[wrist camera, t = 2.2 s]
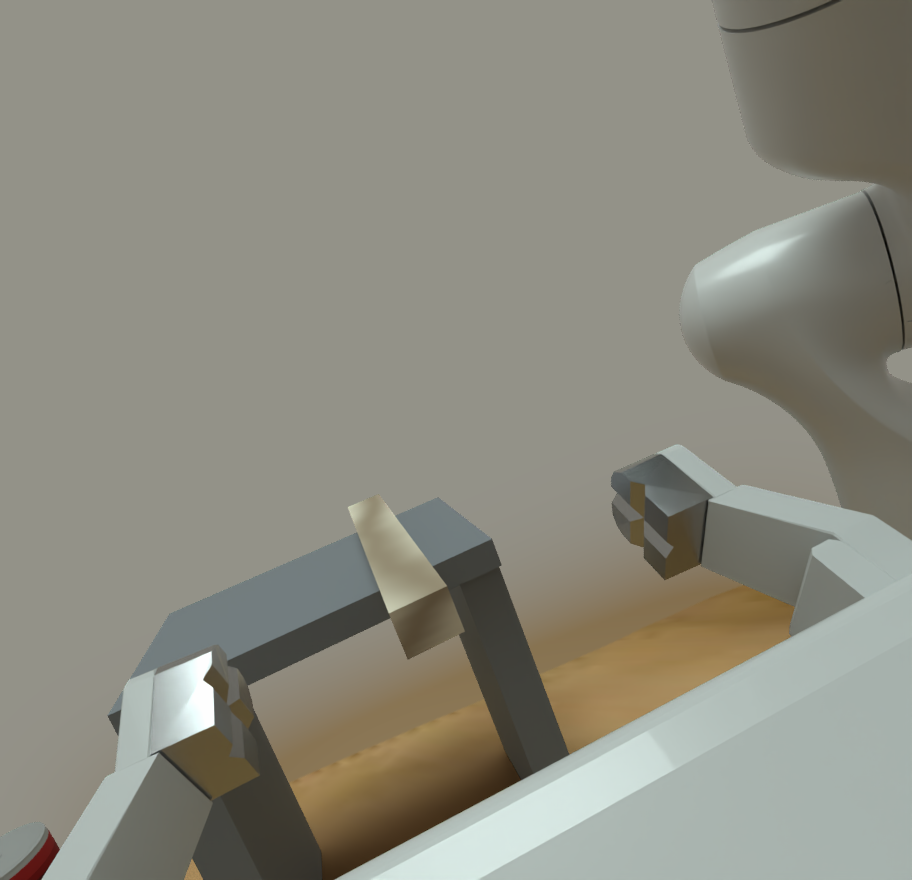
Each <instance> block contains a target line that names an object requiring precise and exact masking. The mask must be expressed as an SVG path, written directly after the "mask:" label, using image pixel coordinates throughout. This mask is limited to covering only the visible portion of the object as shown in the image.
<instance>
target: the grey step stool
mask: <svg viewBox="0 0 912 880" xmlns="http://www.w3.org/2000/svg"><path fill="white" fill-rule="evenodd" d="M395 517H396V518H397V519H398V521H399V522H400V523H401V525H402V526H403V527H404V529H405V530H406V532H407V533H408V534H409V536H410V537H411V538H412V540H413V541H414V542H415V544H416V545H417V546H418V548H419V549H420V550H421V552H422V553H423V554H424V556H425V557H426V558H427V560H428V561H429V562H430V564H431V565H432V566H433V568H434V569H435V570H436V572H437V573H438V574H439V576H440V577H441V579H442V580H443V581H444V583H445V584H446V585H447V587H448V590H449V592H450V595H451V597H452V600H453V602H454V605H455V607H456V610H457V613H458V615H459V618H460V620H461V623H462V625H463V628H464V630H465V632H463V633H461V634H459V636H460V638H461V641H462V644H463V646H464V649H465V651H466V654H467V656H468V659H469V661H470V664H471V666H472V669H473V671H474V674H475V676H476V679H477V681H478V684H479V686H480V689H481V692H482V694H483V697H484V699H485V702H486V704H487V707H488V709H489V712H490V714H491V717H492V719H493V722H494V724H495V727H496V729H497V732H498V735H499V737H500V740H501V742H502V745H503V747H504V750H505V752H506V753H507V755H508V757H509V759H510V761H511V762H512V764H513V766H514V768H515V769H516V771H517V773H518V775H519V777H520V778H521V780H523V779H525V778H527V777H528V776H530V775H532V774H534V773H536V772H538V771H540V770H542V769H544V768H545V767H547V766H549V765H551V764H553V763H555V762H557V761H559V760H560V759H562V758H564V757H566V756H568V755H569V753H568V750H567V747H566V745H565V742H564V739H563V737H562V734H561V731H560V729H559V726H558V723H557V721H556V718H555V715H554V713H553V710H552V707H551V705H550V702H549V699H548V697H547V694H546V691H545V689H544V686H543V683H542V680H541V678H540V675H539V673H538V670H537V667H536V664H535V662H534V659H533V656H532V654H531V651H530V648H529V646H528V643H527V640H526V638H525V635H524V632H523V630H522V627H521V624H520V622H519V619H518V617H517V614H516V611H515V608H514V606H513V603H512V600H511V598H510V595H509V592H508V590H507V587H506V584H505V582H504V579H503V576H502V574H501V571H500V568H499V566H501V562H500V560H499V557H498V554H497V551H496V549H495V546H494V544H493V541H492V539H491V538H490V537H489V536H487V535H486V534H485V533H484V532H482V531H481V530H479V529H478V528H477V527H476V526H474V525H473V524H472V523H470V522H469V521H468V520H467V519H465V518H464V517H463V516H462V515H460V514H459V513H458V512H456V511H455V510H454V509H453V508H451V507H450V506H448V505H447V504H446V503H445V502H443V501H442V500H441V499H440V498H435V499H433V500H431V501H428V502H426V503H424V504H422V505H419V506H417V507H415V508H412V509H410V510H408V511H405V512H403V513H401V514H399V515H396V516H395ZM389 618H390V615H389V613H388V610H387V608H386V605H385V603H384V600H383V597H382V595H381V592H380V590H379V587H378V584H377V582H376V579H375V577H374V574H373V571H372V569H371V566H370V564H369V561H368V559H367V556H366V553H365V551H364V548H363V546H362V543H361V540H360V538H359V535H358V533H355V534H353V535H350V536H348V537H345V538H343V539H341V540H339V541H336V542H334V543H332V544H330V545H327V546H325V547H323V548H320V549H318V550H316V551H313V552H311V553H309V554H306V555H304V556H302V557H299V558H297V559H295V560H292V561H291V562H288V563H286V564H283V565H281V566H279V567H276V568H274V569H272V570H270V571H267V572H265V573H263V574H260V575H258V576H256V577H253V578H251V579H249V580H246V581H244V582H242V583H239V584H237V585H235V586H233V587H230V588H228V589H226V590H223V591H221V592H219V593H216V594H214V595H212V596H210V597H207V598H205V599H203V600H200V601H198V602H196V603H194V604H191V605H189V606H186V607H184V608H182V609H180V610H177V611H175V612H173V613H171V614H169V616H168V618H167V619H166V621H165V622H164V624H163V625H162V627H161V629H160V630H159V632H158V634H157V635H156V637H155V639H154V640H153V642H152V644H151V645H150V647H149V649H148V650H147V652H146V653H145V655H144V657H143V658H142V660H141V662H140V663H139V665H138V667H137V668H136V670H135V672H134V673H133V675H132V676H131V678H130V679H132V678H135V677H137V676H139V675H142V674H144V673H147V672H149V671H152V670H154V669H157V668H158V667H160V666H163V665H165V664H168V663H170V662H173V661H175V660H178V659H180V658H183V657H185V656H188V655H190V654H193V653H195V652H198V651H200V650H202V649H205V648H207V647H210V646H212V645H217V644H218V645H219V646H220V647H221V648H222V650H223V651H224V652H225V653H226V654H227V666H230V667H234V668H237V669H238V670H239V672H240V673H241V674H242V676H243V678H244V680H245V682H246V684H247V686H248V685H250V684H252V683H254V682H256V681H258V680H260V679H263V678H265V677H267V676H269V675H271V674H273V673H275V672H277V671H280V670H282V669H284V668H286V667H288V666H290V665H292V664H294V663H296V662H298V661H301V660H303V659H305V658H307V657H309V656H311V655H313V654H315V653H318V652H320V651H321V650H324V649H326V648H328V647H330V646H332V645H334V644H337V643H338V642H341V641H343V640H345V639H347V638H349V637H351V636H353V635H356V634H357V633H360V632H362V631H364V630H366V629H368V628H370V627H372V626H375V625H377V624H379V623H381V622H383V621H385V620H387V619H389ZM122 697H123V691H122V693H121V694H120V696H119V698H118V699H117V701H116V703H115V704H114V706H113V708H112V709H111V711H110V713H109V714H108V718H109V720H110V721H111V723H112V725H113V727H114V729H115V731H116V733H117V735H118V736H119V726H120V717H121V707H122ZM253 712H254V718H253V720H252V722H251V724H250V726H249V728H248V730H249V731H250V732H251V734H252V735H253V736H254V737H255V739H256V740H257V750H258V760H259V770H260V776H258V777H256V778H254V779H252V780H250V781H248V782H246V783H244V784H242V785H240V786H239V787H237V788H235V789H233V790H231V791H229V792H227V793H225V794H223V795H221V796H219V797H217V798H215V799H213V800H211V801H212V802H213V804H212V807H211V810H210V812H209V815H208V817H207V820H206V823H205V825H204V828H203V831H202V833H201V836H200V838H199V841H198V844H197V846H196V849H195V851H194V854H193V857H192V859H193V861H194V862H195V864H196V866H197V868H198V870H199V872H200V874H201V876H202V878H203V880H322V859H321V850H320V848H319V846H318V844H317V842H316V839H315V837H314V835H313V833H312V831H311V829H310V827H309V825H308V823H307V821H306V818H305V816H304V814H303V812H302V810H301V808H300V806H299V804H298V802H297V799H296V797H295V795H294V793H293V791H292V789H291V787H290V785H289V783H288V781H287V778H286V776H285V774H284V772H283V770H282V768H281V766H280V764H279V762H278V760H277V758H276V755H275V753H274V751H273V749H272V747H271V745H270V743H269V741H268V739H267V736H266V734H265V732H264V730H263V728H262V726H261V724H260V722H259V720H258V718H257V715H256V713H255V711H254V709H253Z"/></svg>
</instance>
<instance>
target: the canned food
mask: <svg viewBox="0 0 912 880" xmlns="http://www.w3.org/2000/svg"><path fill="white" fill-rule="evenodd" d="M59 851H60V849H59V847H58V846H57V843H56V842H55V840H54V838H53V837H52V835H51V834H50V832H49V830H48V829H47V828H46V827H45V825H44V824H43V823H41V822H34V823H29V824H26V825H23V826H21V827H18V828H16V829H14V830H12V831H10V832H8V833H6V834H5V835H3V836H1V837H0V880H41V879H42V878H43V876H44V875H45V873H46V871H47V870H48V868H49V867H50V865H51V863H52V862H53V860H54V859H55V857H56V855H57V854H58V852H59Z"/></svg>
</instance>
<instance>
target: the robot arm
mask: <svg viewBox="0 0 912 880" xmlns="http://www.w3.org/2000/svg"><path fill="white" fill-rule="evenodd" d="M712 3H713V7H714V11H715V16H716V20H717V24H718V28H719V32H720V35H721V40H722V44H723V48H724V51H725V55H726V59H727V63H728V67H729V71H730V74H731V79H732V82H733V87H734V90H735V94H736V98H737V102H738V106H739V110H740V113H741V117H742V122H743V125H744V129H745V133H746V137H747V140H748V142H749V144H750V145H751V147H752V149H753V150H754V151H755V152H756V154H757V155H758V156H759V157H760V158H762V159H763V160H764V161H765V162H766V163H768V164H770V165H771V166H773V167H775V168H777V169H780V170H782V171H784V172H786V173H789V174H792V175H795V176H798V177H802V178H807V179H813V180H830V181H862V182H869V183H874V184H873V185H871V186H869V187H867V188H865V189H863V190H861V192H858V193H856V194H853V195H850V196H847V197H845V198H842V199H839V200H837V201H834V202H831V203H828V204H826V205H823V206H820V207H818V208H815V209H812V210H809V211H807V212H804V213H801V214H799V215H796V216H793V217H790V218H788V219H785V220H783V221H780V222H777V223H774V224H771V225H769V226H766V227H763V228H761V229H758V230H755V231H753V232H751V233H749V234H748V235H746V236H744V237H742V238H740V239H739V240H737V241H735V242H733V243H731V244H730V245H728V246H726V247H724V248H722V249H721V250H719V251H717V252H716V253H714V254H712V255H711V256H709V257H708V258H706V259H704V260H703V261H701V262H699V263H697V264H696V265H695V266H694V268H693V269H692V271H691V273H690V274H689V276H688V279H687V280H686V283H685V285H684V288H683V291H682V296H681V300H680V309H679V316H680V317H679V318H680V326H681V331H682V334H683V337H684V340H685V343H686V345H687V346H688V348H689V350H690V352H691V353H692V355H693V356H694V357H695V358H696V360H697V361H698V362H699V363H700V364H701V365H702V366H703V367H704V368H705V369H707V370H708V371H709V372H711V373H712V374H714V375H715V376H717V377H719V378H721V379H723V380H725V381H728V382H731V383H734V384H737V385H740V386H743V387H745V388H748V389H750V390H752V391H754V392H757V393H758V394H760V395H762V396H764V397H766V398H768V399H769V400H771V401H772V402H774V403H775V404H777V405H779V406H780V407H781V408H783V409H784V410H785V411H786V412H788V413H789V414H790V415H791V416H792V417H793V418H795V419H796V420H797V421H798V422H799V423H800V424H801V425H802V426H803V428H804V429H805V430H806V431H807V432H808V433H809V435H810V436H811V437H812V439H813V440H814V442H815V443H816V445H817V447H818V448H819V450H820V452H821V454H822V456H823V458H824V460H825V462H826V465H827V467H828V470H829V473H830V475H831V478H832V481H833V483H834V486H835V489H836V492H837V495H838V498H839V501H840V505H841V508H840V507H835V506H831V505H827V504H823V503H819V502H814V501H810V500H806V499H802V498H798V497H794V496H789V495H785V494H781V493H777V492H772V491H768V490H764V489H760V488H756V487H751V486H747V485H741V486H738V487H736V486H735V485H734V484H732V483H731V482H730V481H728V480H727V479H725V478H724V477H723V476H722V475H720V474H719V473H718V472H716V471H715V470H714V469H712V468H711V467H710V466H709V465H707V464H706V463H705V462H703V461H702V460H701V459H700V458H698V457H697V456H696V455H694V454H693V453H692V452H690V451H689V450H688V449H686V448H685V447H684V446H681V445H678V444H676V445H674V446H672V447H669V448H667V449H665V450H663V451H660V452H658V453H656V454H653V455H651V456H648V457H646V458H644V459H642V460H639V461H637V462H635V463H633V464H630V465H628V466H626V467H624V468H621V469H619V470H617V471H615V472H614V473H613V475H612V477H611V482H612V483H611V484H612V485H611V486H612V488H613V489H614V490H615V491H616V492H617V494H616V496H615V498H614V500H613V502H612V511H613V516H614V519H615V521H616V524H617V526H618V528H619V529H620V531H621V533H622V534H623V535H624V537H625V538H626V539H627V540H628V541H629V542H630V543H631V544H634V545H637V546H640V547H644V559H645V560H646V561H647V562H648V563H649V564H650V565H651V566H652V567H653V568H654V569H655V570H656V571H657V572H658V573H659V574H660V576H661V577H662V578H663V579H664V580H666V579H669V578H671V577H673V576H675V575H678V574H680V573H682V572H684V571H687V570H689V569H691V568H693V567H696V566H698V565H700V564H701V566H702V567H704V568H706V569H709V570H711V571H713V572H716V573H718V574H720V575H722V576H725V577H727V578H729V579H732V580H734V581H736V582H739V583H741V584H743V585H746V586H748V587H750V588H752V589H755V590H757V591H759V592H762V593H764V594H766V595H769V596H771V597H773V598H776V599H778V600H780V601H783V602H785V603H787V604H790V605H792V606H794V607H795V609H794V613H793V616H792V620H791V623H790V630H789V634H790V635H791V636H792V637H790V638H789V639H787V640H785V641H783V642H781V643H779V644H777V645H775V646H774V647H772V648H770V649H768V650H766V651H764V652H762V653H760V654H758V655H757V656H755V657H753V658H751V659H749V660H747V661H745V662H743V663H742V664H740V665H738V666H736V667H734V668H732V669H730V670H728V671H726V672H725V673H723V674H721V675H719V676H717V677H715V678H713V679H711V680H709V681H708V682H706V683H704V684H702V685H700V686H698V687H696V688H694V689H692V690H691V691H689V692H687V693H685V694H683V695H681V696H679V697H677V698H675V699H674V700H672V701H670V702H668V703H666V704H664V705H662V706H660V707H659V708H657V709H655V710H653V711H651V712H649V713H647V714H645V715H643V716H642V717H640V718H638V719H636V720H634V721H632V722H630V723H628V724H626V725H625V726H623V727H621V728H619V729H617V730H615V731H613V732H611V733H609V734H608V735H606V736H604V737H602V738H600V739H598V740H596V741H594V742H593V743H591V744H589V745H587V746H585V747H583V748H581V749H579V750H577V751H576V752H574V753H572V754H570V755H568V756H566V757H564V758H562V759H560V760H559V761H557V762H555V763H553V764H551V765H549V766H547V767H545V768H544V769H542V770H540V771H538V772H536V773H534V774H532V775H530V776H528V777H527V778H525V779H523V780H521V781H519V782H517V783H515V784H513V785H512V786H510V787H508V788H506V789H504V790H502V791H500V792H498V793H496V794H495V795H493V796H491V797H489V798H487V799H485V800H483V801H481V802H480V803H478V804H476V805H474V806H472V807H470V808H468V809H466V810H464V811H463V812H461V813H459V814H457V815H455V816H453V817H451V818H449V819H448V820H446V821H444V822H442V823H440V824H438V825H436V826H434V827H433V828H431V829H429V830H427V831H425V832H423V833H421V834H419V835H417V836H416V837H414V838H412V839H410V840H408V841H406V842H404V843H402V844H401V845H399V846H397V847H395V848H393V849H391V850H389V851H387V852H385V853H384V854H382V855H380V856H378V857H376V858H374V859H372V860H370V861H369V862H367V863H365V864H363V865H361V866H359V867H357V868H355V869H353V870H352V871H350V872H348V873H346V874H344V875H342V876H340V877H338V878H337V879H335V880H912V383H909V382H906V381H903V380H900V379H898V378H896V377H894V376H892V375H891V374H890V373H889V372H888V369H887V365H886V361H887V358H888V357H889V356H890V355H892V354H894V353H896V352H899V351H901V350H903V349H907V348H911V347H912V0H712ZM253 718H254V712H253V704H252V699H251V696H250V692H249V689H248V686H247V684H246V682H245V680H244V678H243V676H242V674H241V673H240V672H239V670H238V669H237V668H234V667H230V666H227V654H226V653H225V652H224V651H223V650H222V648H221V647H220V646H219V645H218V644H217V645H212V646H210V647H207V648H205V649H202V650H200V651H198V652H195V653H193V654H190V655H188V656H185V657H183V658H180V659H178V660H175V661H173V662H170V663H168V664H165V665H163V666H160V667H158V668H157V669H154V670H152V671H149V672H147V673H144V674H142V675H139V676H137V677H135V678H132V679H130V680H128V682H127V683H126V685H125V687H124V690H123V697H122V707H121V717H120V726H119V736H118V746H117V756H116V765H115V766H116V767H115V773H113V774H110V775H108V776H106V777H105V779H104V780H103V782H102V784H101V785H100V787H99V788H98V790H97V792H96V793H95V795H94V796H93V798H92V799H91V801H90V803H89V804H88V806H87V807H86V809H85V811H84V812H83V814H82V815H81V817H80V819H79V820H78V822H77V823H76V825H75V827H74V828H73V830H72V831H71V833H70V835H69V836H68V838H67V840H66V841H65V843H64V844H63V846H62V847H61V849H60V851H59V852H58V854H57V855H56V857H55V859H54V860H53V862H52V863H51V865H50V867H49V868H48V870H47V871H46V873H45V875H44V876H43V878H42V879H41V880H184V878H185V875H186V872H187V870H188V867H189V865H190V862H191V859H192V857H193V854H194V851H195V849H196V846H197V844H198V841H199V838H200V836H201V833H202V831H203V828H204V825H205V823H206V820H207V817H208V815H209V812H210V810H211V807H212V804H213V802H212V801H211V800H213V799H215V798H217V797H219V796H221V795H223V794H225V793H227V792H229V791H231V790H233V789H235V788H237V787H239V786H240V785H242V784H244V783H246V782H248V781H250V780H252V779H254V778H256V777H258V776H260V770H259V760H258V750H257V740H256V739H255V737H254V736H253V735H252V734H251V732H250V731H249V730H248V728H249V726H250V724H251V722H252V720H253Z"/></svg>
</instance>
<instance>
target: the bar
mask: <svg viewBox="0 0 912 880" xmlns="http://www.w3.org/2000/svg"><path fill="white" fill-rule="evenodd" d="M348 509H349V512H350V514H351V517H352V520H353V522H354V525H355V527H356V530H357V533H358V535H359V538H360V540H361V543H362V546H363V548H364V551H365V553H366V556H367V559H368V561H369V564H370V566H371V569H372V571H373V574H374V577H375V579H376V582H377V584H378V587H379V590H380V592H381V595H382V597H383V600H384V603H385V605H386V608H387V610H388V613H389V615H390V618H391V620H392V623H393V625H394V627H395V630H396V632H397V635H398V637H399V639H400V642H401V644H402V646H403V649H404V651H405V654H406V656H407V659H410V658H412V657H414V656H416V655H418V654H420V653H422V652H424V651H426V650H428V649H430V648H433V647H434V646H437V645H438V644H440V643H443V642H444V641H446V640H449V639H451V638H453V637H455V636H457V635H459V634H461V633H463V632H465V630H464V628H463V625H462V623H461V620H460V618H459V615H458V613H457V610H456V607H455V605H454V602H453V600H452V597H451V595H450V592H449V590H448V587H447V585H446V584H445V583H444V581H443V580H442V579H441V577H440V576H439V574H438V573H437V572H436V570H435V569H434V568H433V566H432V565H431V564H430V562H429V561H428V560H427V558H426V557H425V556H424V554H423V553H422V552H421V550H420V549H419V548H418V546H417V545H416V544H415V542H414V541H413V540H412V538H411V537H410V536H409V534H408V533H407V532H406V530H405V529H404V527H403V526H402V525H401V523H400V522H399V521H398V519H397V518H396V517H395V515H394V514H393V513H392V511H391V510H390V509H389V507H388V506H387V505H386V504H385V502H384V501H383V499H382V498H381V497H380V495H379V494H378V495H375V496H373V497H371V498H369V499H366V500H363V501H361V502H359V503H356V504H354V505H352V506H349V507H348Z"/></svg>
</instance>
